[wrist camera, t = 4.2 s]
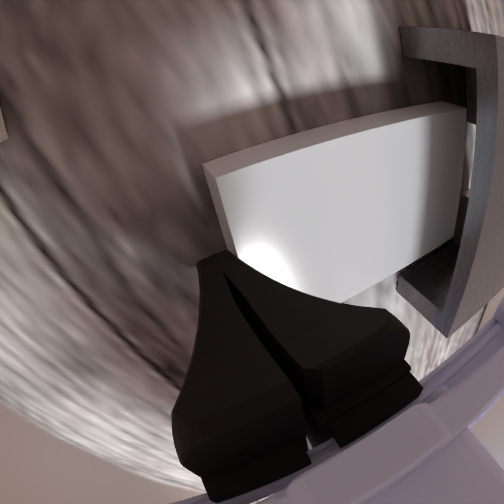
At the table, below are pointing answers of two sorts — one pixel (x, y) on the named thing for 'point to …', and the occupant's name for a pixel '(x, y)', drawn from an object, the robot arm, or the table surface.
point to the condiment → (2, 129)
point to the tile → (344, 198)
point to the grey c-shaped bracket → (474, 199)
